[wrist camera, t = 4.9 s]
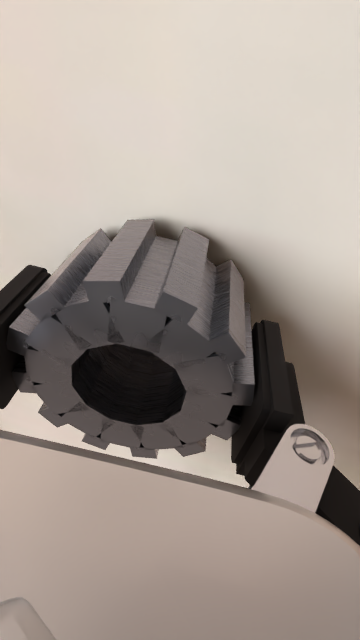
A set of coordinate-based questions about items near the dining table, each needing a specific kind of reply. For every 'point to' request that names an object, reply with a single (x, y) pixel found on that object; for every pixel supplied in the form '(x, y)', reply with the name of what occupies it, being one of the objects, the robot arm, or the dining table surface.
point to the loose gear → (139, 342)
